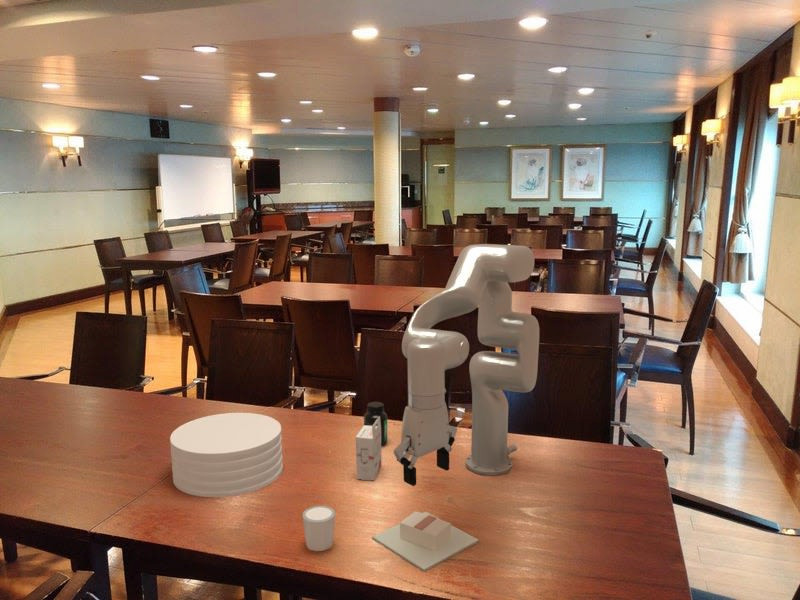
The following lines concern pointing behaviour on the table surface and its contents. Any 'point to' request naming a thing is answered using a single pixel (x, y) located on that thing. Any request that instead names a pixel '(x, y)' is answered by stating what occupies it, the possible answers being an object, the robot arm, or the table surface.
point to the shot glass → (319, 527)
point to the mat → (420, 554)
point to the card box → (425, 530)
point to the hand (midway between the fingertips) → (426, 475)
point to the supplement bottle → (372, 415)
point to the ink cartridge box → (368, 451)
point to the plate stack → (226, 454)
